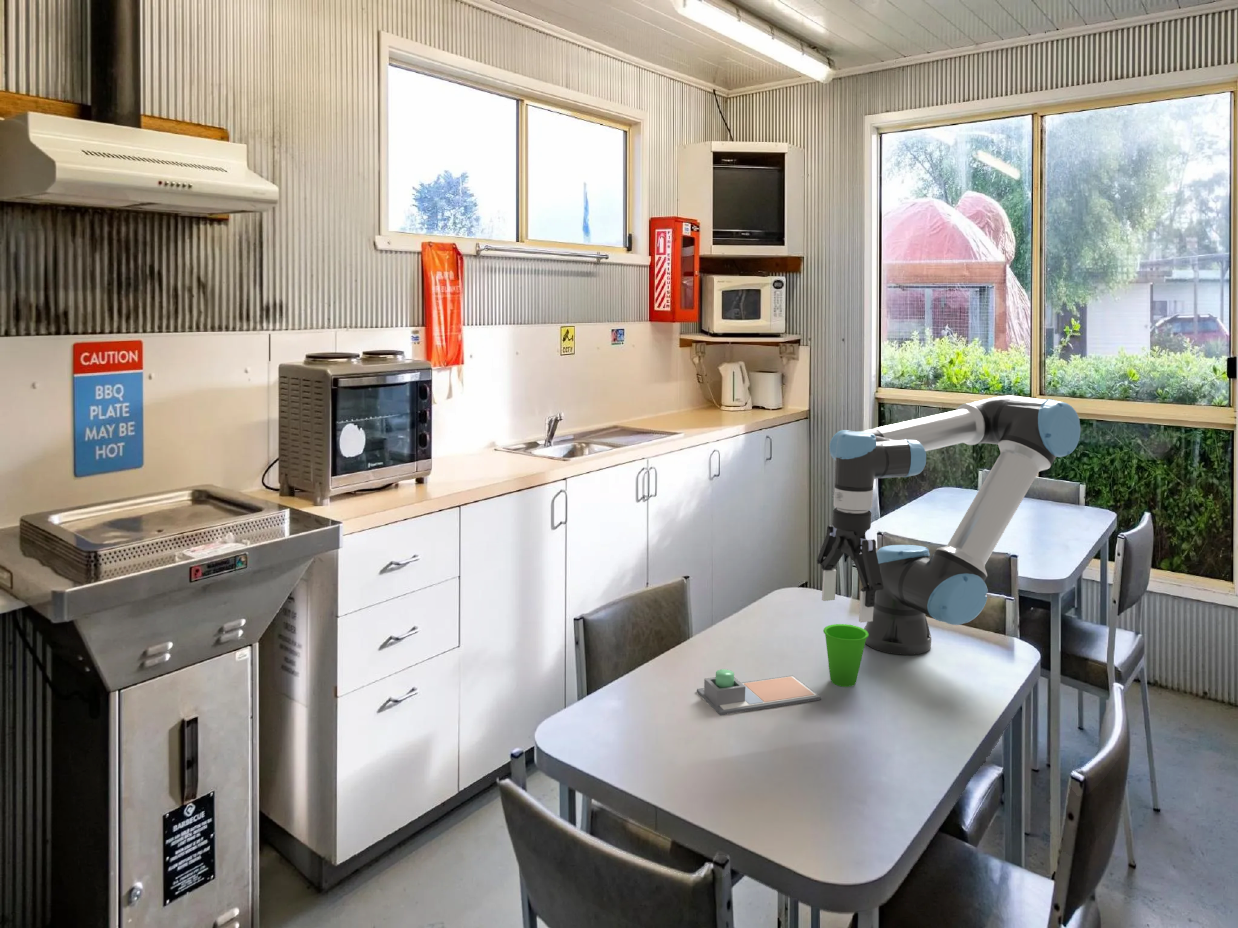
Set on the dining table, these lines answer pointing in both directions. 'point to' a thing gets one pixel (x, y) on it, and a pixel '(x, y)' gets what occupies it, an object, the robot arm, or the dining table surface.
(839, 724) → the dining table surface
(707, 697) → the grey holder tray
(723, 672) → the button
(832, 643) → the cup
